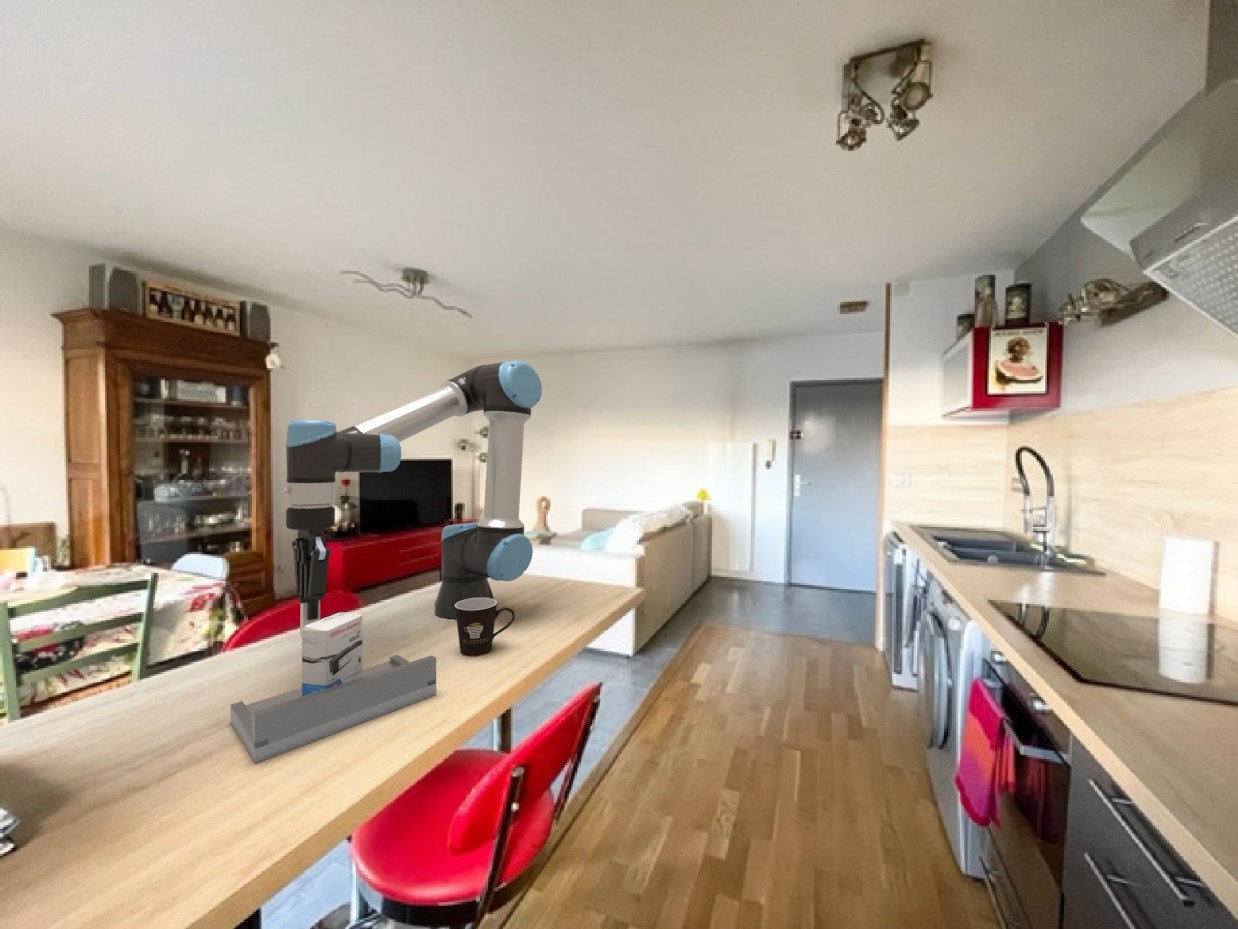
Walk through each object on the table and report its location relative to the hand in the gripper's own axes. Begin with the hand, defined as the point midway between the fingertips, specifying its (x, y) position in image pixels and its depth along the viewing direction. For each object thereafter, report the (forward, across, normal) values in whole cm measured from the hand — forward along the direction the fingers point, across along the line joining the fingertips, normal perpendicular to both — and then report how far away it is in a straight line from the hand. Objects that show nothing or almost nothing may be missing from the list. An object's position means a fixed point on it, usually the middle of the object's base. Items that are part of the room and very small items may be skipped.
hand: (310, 635), depth 90 cm
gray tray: (+9, +13, 0) cm, 16 cm away
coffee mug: (+9, +10, +30) cm, 32 cm away
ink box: (+7, +10, +1) cm, 12 cm away
